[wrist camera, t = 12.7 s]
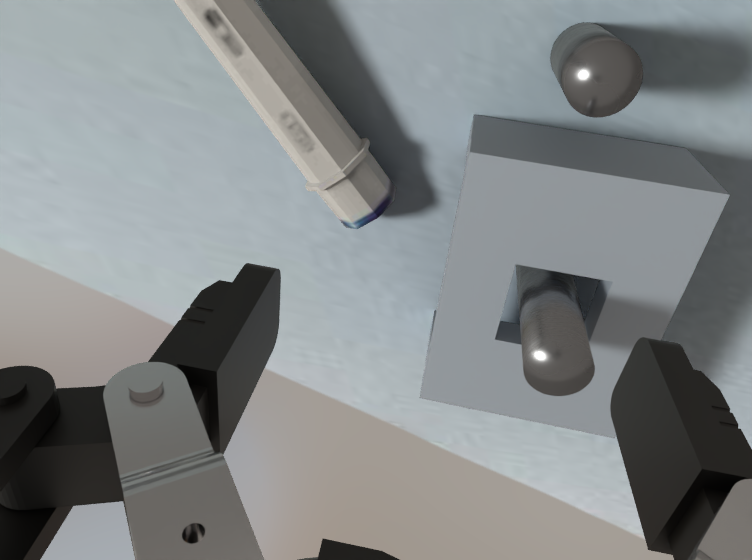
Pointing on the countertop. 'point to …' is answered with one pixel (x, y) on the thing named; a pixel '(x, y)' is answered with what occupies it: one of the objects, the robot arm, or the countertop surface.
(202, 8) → the beige toy mallet
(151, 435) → the robot arm
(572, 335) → the tall pin
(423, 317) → the countertop surface
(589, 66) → the short pin
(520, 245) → the bridge
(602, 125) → the countertop surface
